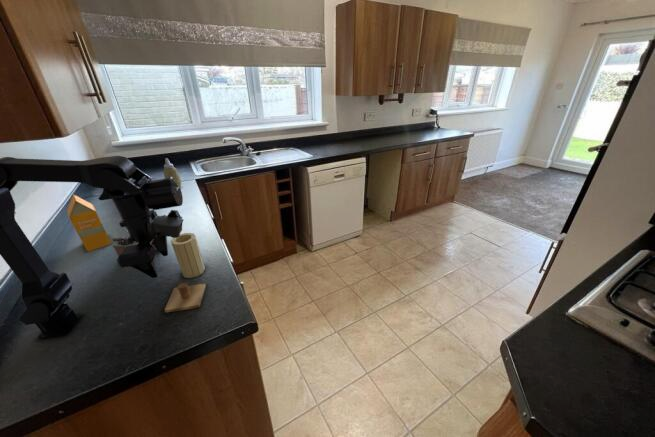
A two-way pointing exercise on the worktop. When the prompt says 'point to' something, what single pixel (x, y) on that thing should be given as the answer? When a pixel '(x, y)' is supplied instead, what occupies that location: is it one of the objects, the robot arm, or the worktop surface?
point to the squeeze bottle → (171, 172)
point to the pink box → (121, 244)
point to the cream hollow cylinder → (188, 255)
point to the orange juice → (87, 224)
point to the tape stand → (185, 297)
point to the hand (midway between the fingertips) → (160, 265)
